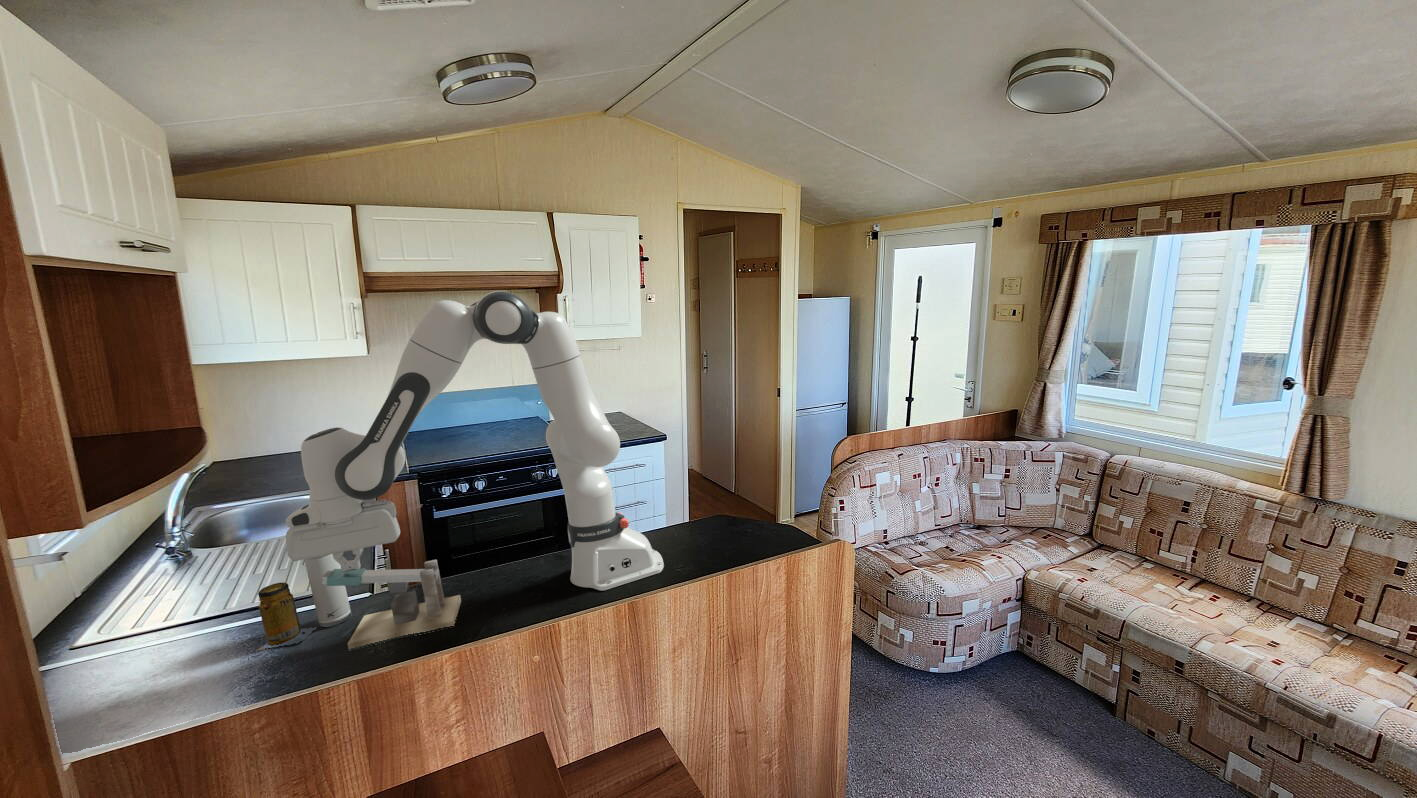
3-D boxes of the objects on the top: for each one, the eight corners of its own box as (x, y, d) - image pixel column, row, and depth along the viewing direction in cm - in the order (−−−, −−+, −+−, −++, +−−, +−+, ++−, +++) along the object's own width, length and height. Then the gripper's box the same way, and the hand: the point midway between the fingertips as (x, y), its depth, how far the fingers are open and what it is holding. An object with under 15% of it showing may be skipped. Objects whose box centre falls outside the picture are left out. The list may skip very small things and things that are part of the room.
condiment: (279, 632, 130) (266, 582, 128) (318, 626, 131) (307, 576, 129) (257, 651, 123) (244, 598, 121) (299, 645, 123) (287, 592, 121)
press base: (461, 600, 136) (452, 551, 134) (454, 626, 124) (443, 573, 122) (365, 621, 131) (354, 570, 129) (349, 650, 119) (336, 595, 117)
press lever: (438, 584, 130) (439, 566, 130) (435, 593, 126) (436, 575, 126) (328, 587, 124) (328, 569, 124) (320, 596, 120) (321, 577, 119)
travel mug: (337, 628, 129) (318, 542, 126) (312, 627, 130) (292, 543, 127) (359, 613, 135) (341, 531, 132) (335, 612, 136) (317, 531, 133)
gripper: (396, 493, 126) (409, 553, 129) (288, 511, 121) (303, 574, 123) (389, 501, 120) (402, 564, 123) (275, 521, 115) (291, 587, 117)
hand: (352, 569), depth 123 cm, fingers closed
